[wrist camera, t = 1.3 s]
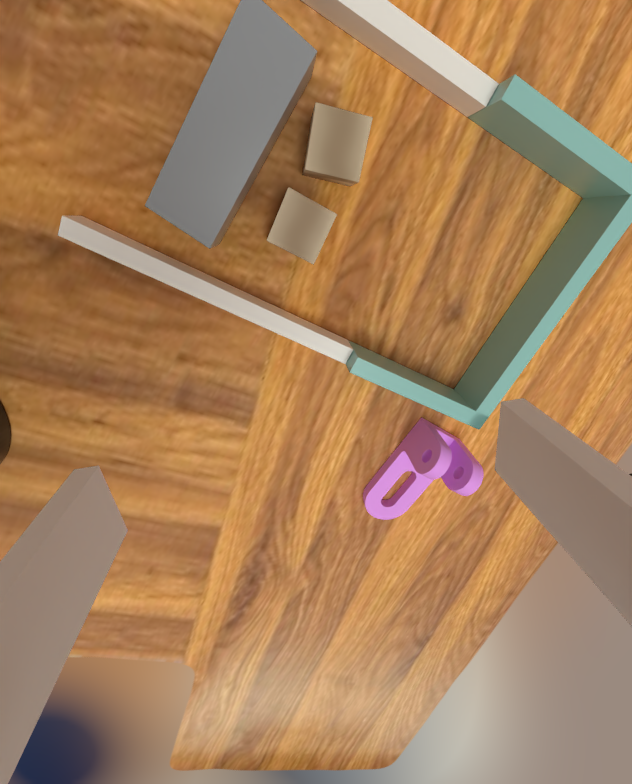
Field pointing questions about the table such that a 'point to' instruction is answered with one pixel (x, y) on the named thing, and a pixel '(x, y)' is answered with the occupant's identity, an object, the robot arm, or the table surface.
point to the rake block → (233, 122)
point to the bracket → (422, 470)
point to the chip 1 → (301, 226)
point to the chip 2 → (336, 145)
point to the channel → (397, 46)
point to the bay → (554, 272)
